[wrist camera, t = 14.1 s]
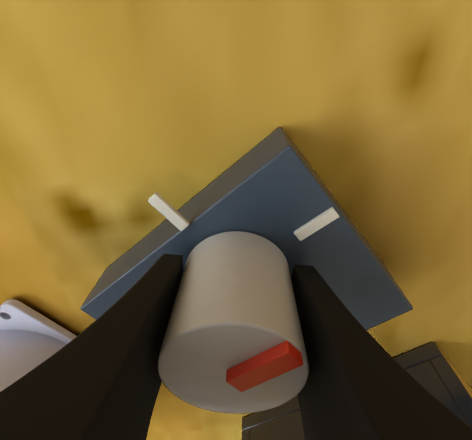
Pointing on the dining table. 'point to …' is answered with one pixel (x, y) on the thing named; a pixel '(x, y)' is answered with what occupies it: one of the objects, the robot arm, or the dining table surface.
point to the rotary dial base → (267, 232)
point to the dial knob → (234, 328)
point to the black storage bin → (414, 362)
